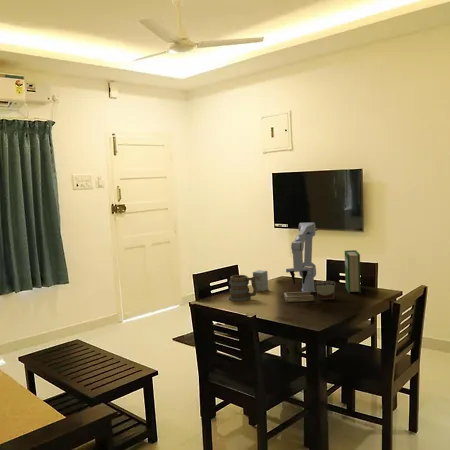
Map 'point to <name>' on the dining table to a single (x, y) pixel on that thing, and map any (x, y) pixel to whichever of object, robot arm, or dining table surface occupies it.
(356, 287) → the hardback book
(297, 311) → the dining table surface
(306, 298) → the open u-shaped wooden frame
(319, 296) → the food container
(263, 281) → the supplement box
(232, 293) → the tankard
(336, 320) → the dining table surface
